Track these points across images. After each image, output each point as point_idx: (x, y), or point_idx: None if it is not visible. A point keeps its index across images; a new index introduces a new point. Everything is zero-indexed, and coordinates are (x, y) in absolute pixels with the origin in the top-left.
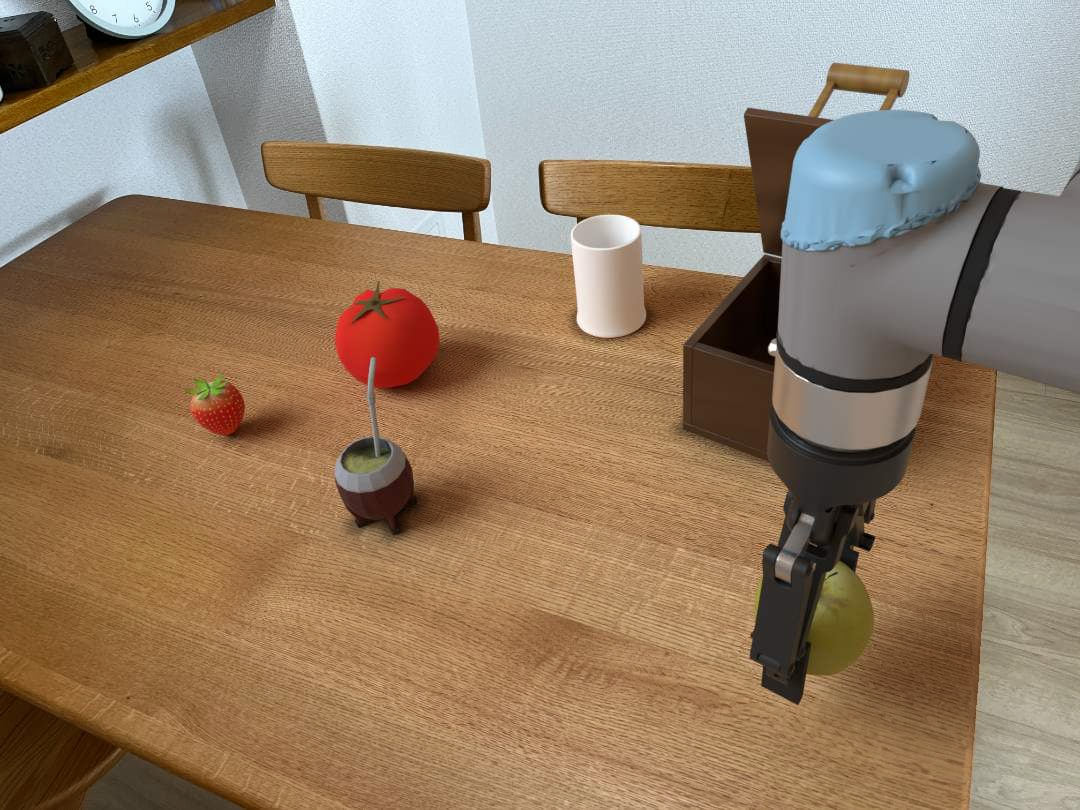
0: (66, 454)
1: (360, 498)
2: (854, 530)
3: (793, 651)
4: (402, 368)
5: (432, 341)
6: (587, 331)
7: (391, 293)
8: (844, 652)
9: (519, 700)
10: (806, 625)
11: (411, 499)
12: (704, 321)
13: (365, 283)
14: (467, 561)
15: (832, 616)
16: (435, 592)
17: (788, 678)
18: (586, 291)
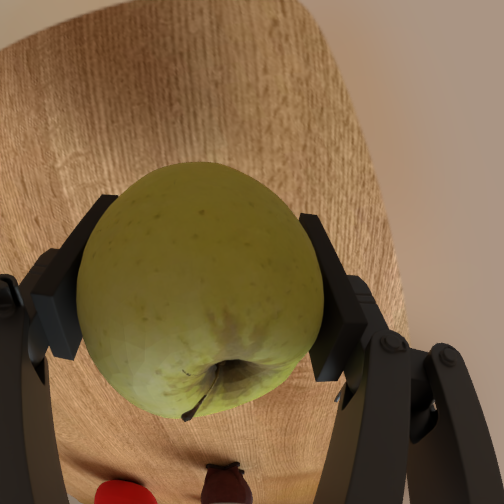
0: None
1: (250, 501)
2: (25, 418)
3: (472, 407)
4: (138, 501)
5: (109, 498)
6: None
7: None
8: (299, 231)
9: (337, 383)
10: (408, 420)
11: (210, 468)
12: None
13: (91, 492)
14: (236, 439)
15: (275, 328)
16: (270, 440)
17: (363, 288)
18: None
